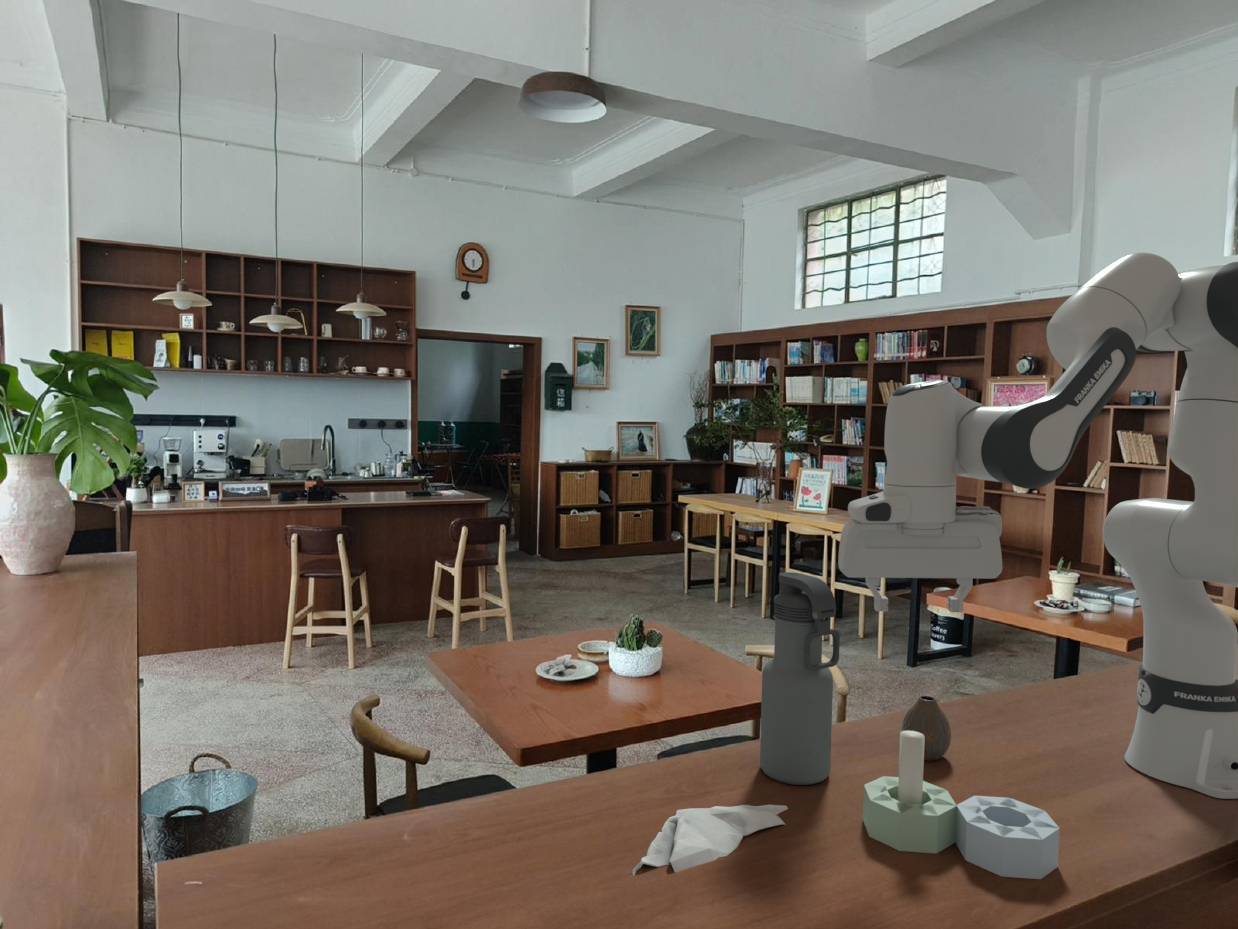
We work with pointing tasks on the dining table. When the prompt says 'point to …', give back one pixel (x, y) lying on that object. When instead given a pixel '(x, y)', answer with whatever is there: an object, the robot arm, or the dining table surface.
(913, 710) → the vase
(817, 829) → the dining table surface
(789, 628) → the water bottle
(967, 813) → the bead
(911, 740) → the dowel
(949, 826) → the bead
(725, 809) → the cloth
